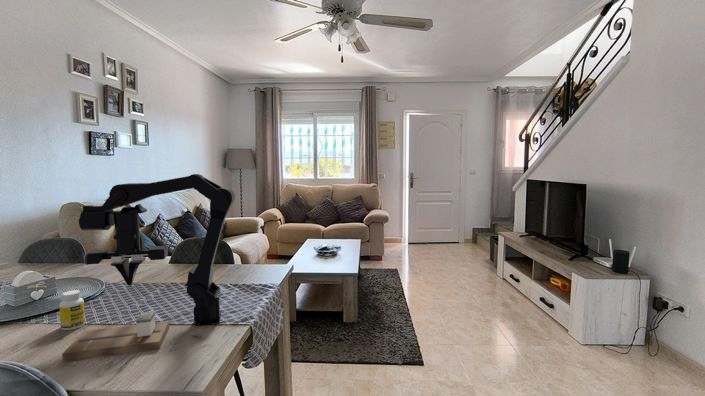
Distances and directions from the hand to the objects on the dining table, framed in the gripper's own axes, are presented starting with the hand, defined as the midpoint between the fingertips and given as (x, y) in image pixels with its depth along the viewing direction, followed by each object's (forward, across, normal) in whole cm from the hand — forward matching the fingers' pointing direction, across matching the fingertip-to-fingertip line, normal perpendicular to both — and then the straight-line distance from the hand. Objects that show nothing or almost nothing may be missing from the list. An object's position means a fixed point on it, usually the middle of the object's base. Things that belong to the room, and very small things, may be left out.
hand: (130, 285), depth 99 cm
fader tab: (+10, -6, +10) cm, 15 cm away
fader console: (+12, 0, +10) cm, 16 cm away
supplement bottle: (+12, +16, -5) cm, 21 cm away
